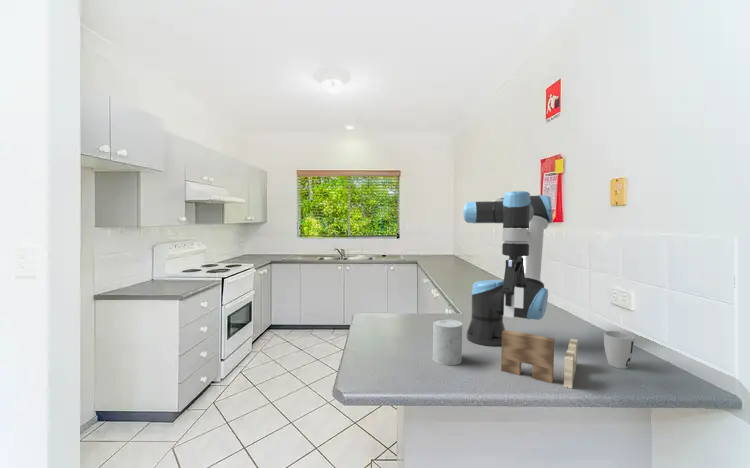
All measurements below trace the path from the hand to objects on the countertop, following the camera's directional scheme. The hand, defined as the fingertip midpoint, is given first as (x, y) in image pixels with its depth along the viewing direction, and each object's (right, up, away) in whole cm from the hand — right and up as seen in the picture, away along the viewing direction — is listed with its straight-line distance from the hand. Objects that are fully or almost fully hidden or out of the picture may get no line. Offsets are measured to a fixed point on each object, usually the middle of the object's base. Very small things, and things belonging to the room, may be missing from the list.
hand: (513, 312), depth 104 cm
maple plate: (+17, -19, -1) cm, 25 cm away
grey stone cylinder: (-18, -18, +9) cm, 28 cm away
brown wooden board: (+3, -19, -2) cm, 19 cm away
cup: (+36, -19, +6) cm, 41 cm away
